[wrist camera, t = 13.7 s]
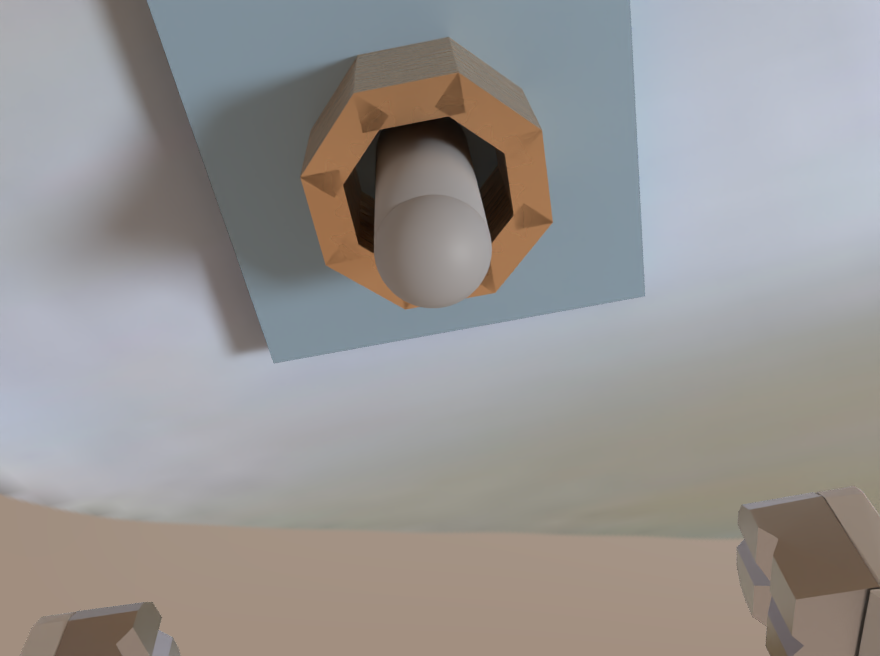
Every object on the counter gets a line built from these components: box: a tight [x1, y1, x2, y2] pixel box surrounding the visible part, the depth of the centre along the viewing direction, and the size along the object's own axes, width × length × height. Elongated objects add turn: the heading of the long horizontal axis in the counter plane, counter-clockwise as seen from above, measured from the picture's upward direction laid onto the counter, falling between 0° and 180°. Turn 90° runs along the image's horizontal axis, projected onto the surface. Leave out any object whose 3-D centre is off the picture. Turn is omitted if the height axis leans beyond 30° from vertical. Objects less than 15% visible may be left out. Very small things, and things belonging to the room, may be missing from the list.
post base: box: [147, 0, 645, 363], centre depth 24 cm, size 14×14×10 cm
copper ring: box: [300, 37, 553, 310], centre depth 25 cm, size 7×7×4 cm
